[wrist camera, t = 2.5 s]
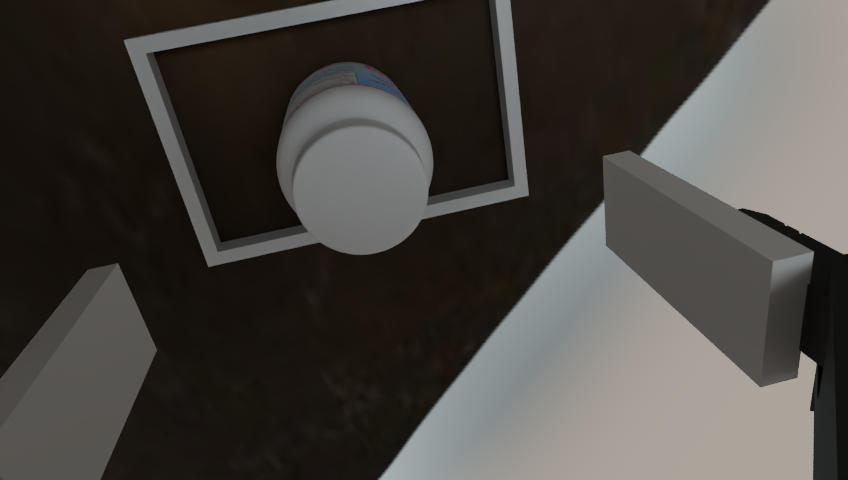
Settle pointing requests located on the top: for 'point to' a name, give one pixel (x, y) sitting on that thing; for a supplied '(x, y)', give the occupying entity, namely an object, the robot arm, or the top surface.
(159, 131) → the white rectangular frame
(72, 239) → the top surface
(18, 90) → the top surface
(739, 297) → the robot arm
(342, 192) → the pill bottle
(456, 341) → the top surface
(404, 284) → the top surface
